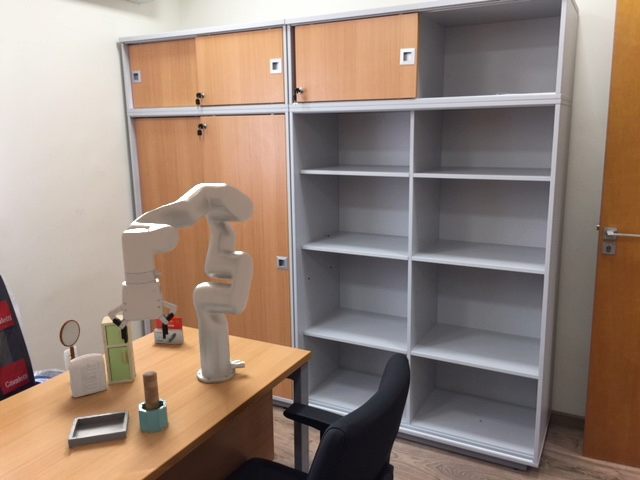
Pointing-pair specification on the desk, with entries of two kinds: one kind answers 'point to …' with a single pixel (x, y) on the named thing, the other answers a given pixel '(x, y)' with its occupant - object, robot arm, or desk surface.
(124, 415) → the tray
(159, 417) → the cup
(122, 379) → the toy refrigerator
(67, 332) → the magnifying glass
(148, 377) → the dowel
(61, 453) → the desk surface
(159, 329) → the ink cartridge box
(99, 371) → the photo printer
